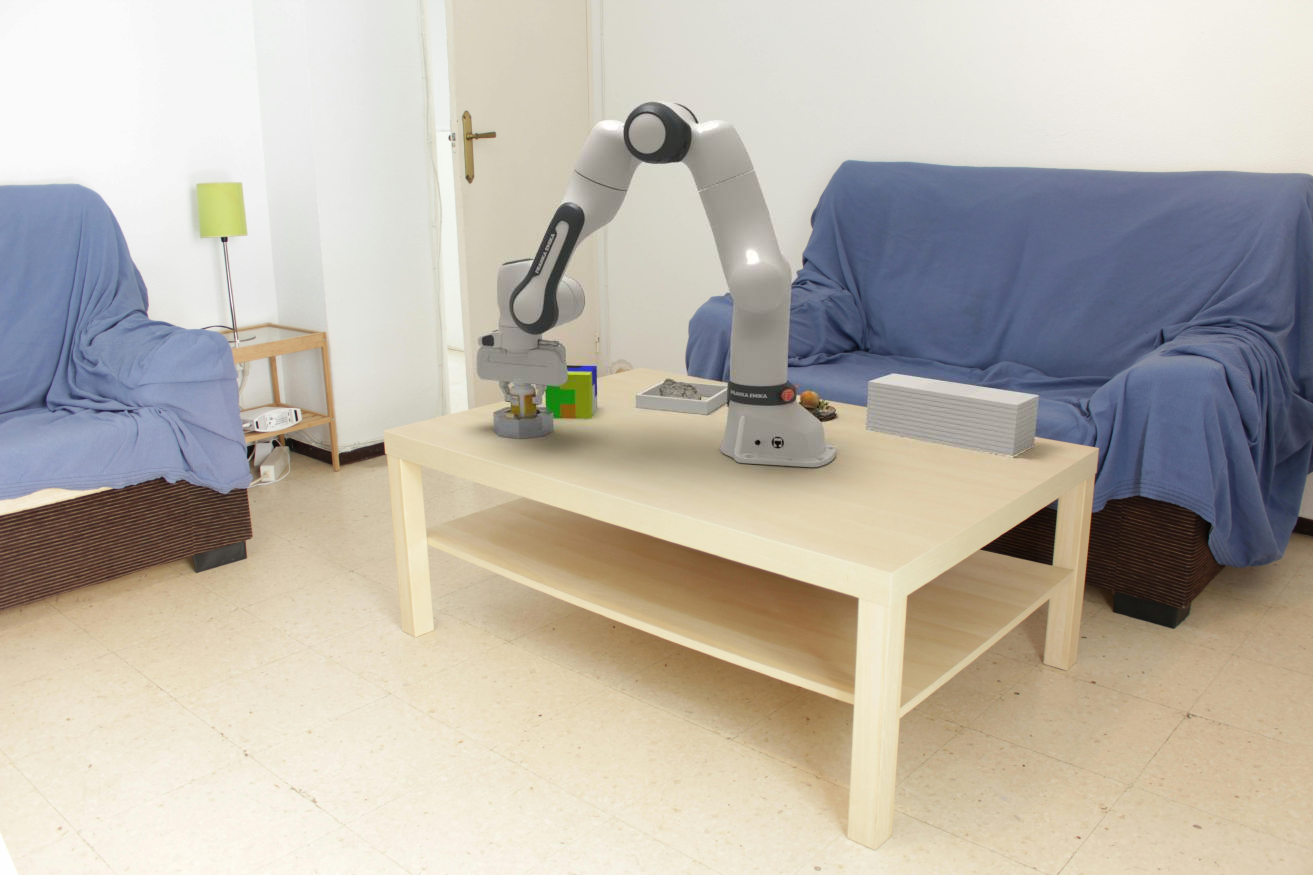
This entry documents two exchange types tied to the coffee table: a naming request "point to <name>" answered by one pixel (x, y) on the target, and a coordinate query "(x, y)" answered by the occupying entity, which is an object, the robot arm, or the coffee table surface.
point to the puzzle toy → (574, 394)
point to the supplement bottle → (522, 398)
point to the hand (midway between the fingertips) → (523, 403)
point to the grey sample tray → (655, 401)
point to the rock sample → (679, 390)
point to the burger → (817, 406)
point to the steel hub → (523, 423)
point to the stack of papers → (952, 413)
